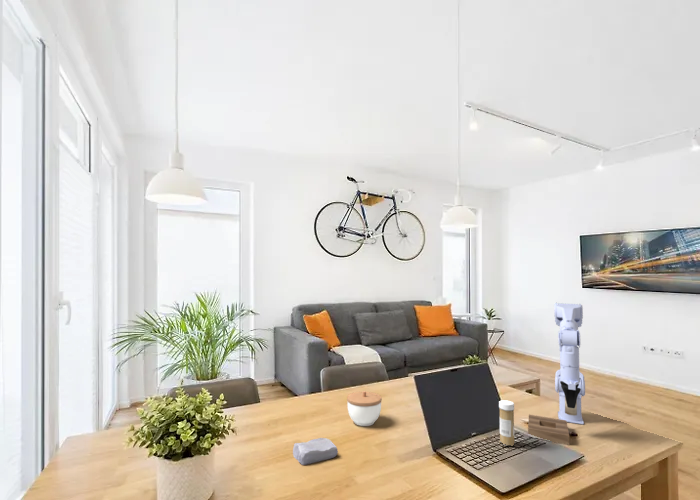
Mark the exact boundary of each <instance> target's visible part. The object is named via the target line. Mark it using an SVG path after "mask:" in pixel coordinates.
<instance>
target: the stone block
mask: <svg viewBox="0 0 700 500" xmlns="http://www.w3.org/2000/svg"><path fill="white" fill-rule="evenodd" d="M337 447H338V446H336V445H335V444H334V443H333V442H332V440H331V439H330V438H326V437H325V438H324V437H318V438H313V439H310V440H309V441H306V442H296V443H295V442H294V444H293V447H292V448H293V449H292V456H293V458H295V460H296V461H298V463H299V464H300V465H301V466H306V465H311V464H314V463H318V462H323V461H326V460H330V459H331V460H332V459H334V458H335V457H337V455H338V453H339V451H338V448H337Z"/></svg>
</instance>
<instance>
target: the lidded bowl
mask: <svg viewBox="0 0 700 500" xmlns="http://www.w3.org/2000/svg"><path fill="white" fill-rule="evenodd" d="M346 398H347V399H346V400H347V412H348V415H349V417H350V419H351V420H352V421H353V423H354V424H355V425H357V426H358V427H359V426H360V427H370V426H373V425H374V424H375V422H376V421H377V420H378V418H379V417H380V415H381V410H382V396H381V395H380V394H379V393H376V392H371V391H366V390H363V391H355V392H352V393H349V394H348V395H347V396H346Z"/></svg>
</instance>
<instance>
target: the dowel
mask: <svg viewBox="0 0 700 500" xmlns="http://www.w3.org/2000/svg"><path fill="white" fill-rule="evenodd" d="M565 413H566V414H568V415H577V400H576V405H575V408H568V407H567V403H566V398H565Z"/></svg>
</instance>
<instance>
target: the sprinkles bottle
mask: <svg viewBox="0 0 700 500" xmlns="http://www.w3.org/2000/svg"><path fill="white" fill-rule="evenodd" d="M498 408H499V442H500V441H501V442H502V443H503V444H506V445H511V446H513V445H514V443H515V423H514V422H515V416H514V415H515V414H514V413H515V412H514V411H515V403H514V401H512V400H511V401H510V400H505V399H502V400H500V401H498Z"/></svg>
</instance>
